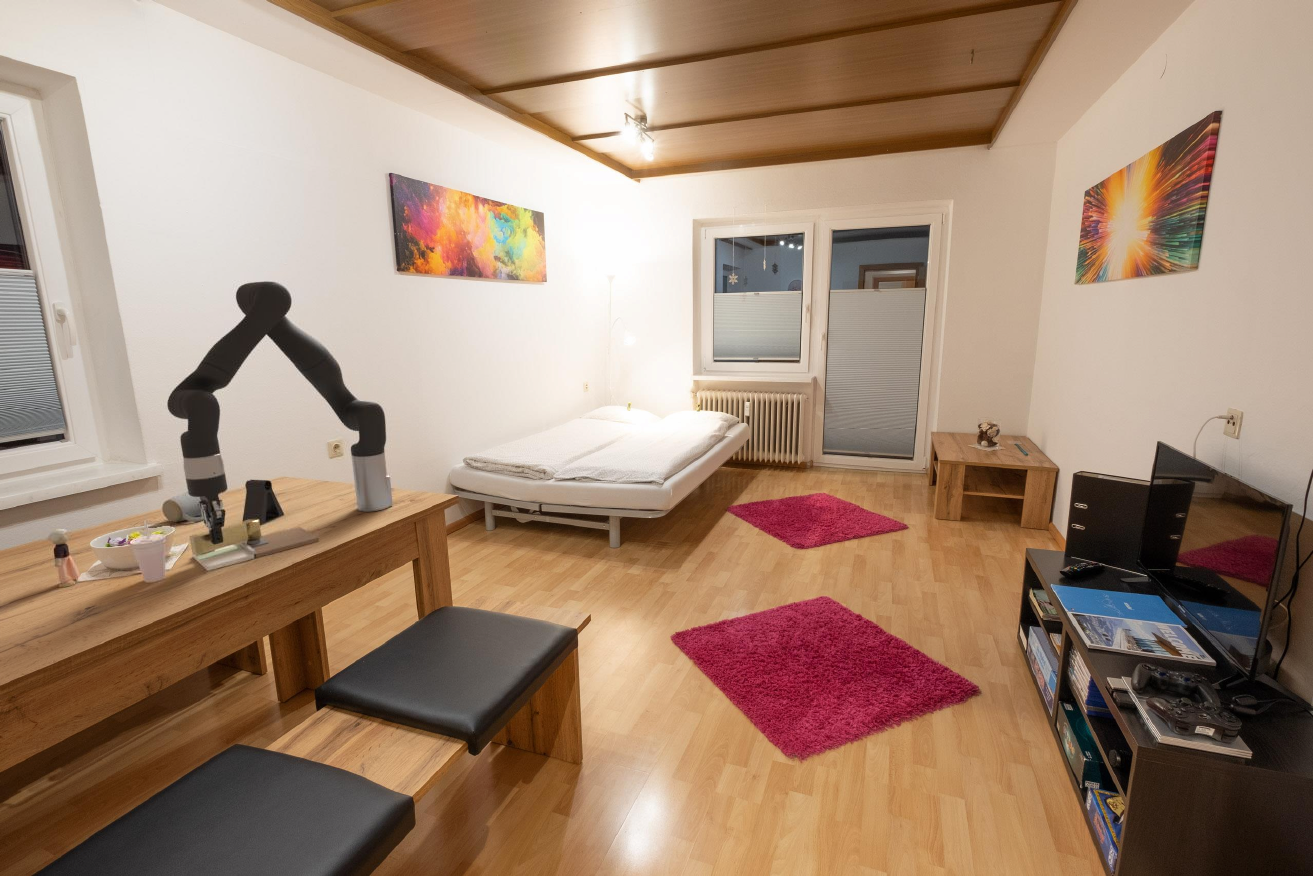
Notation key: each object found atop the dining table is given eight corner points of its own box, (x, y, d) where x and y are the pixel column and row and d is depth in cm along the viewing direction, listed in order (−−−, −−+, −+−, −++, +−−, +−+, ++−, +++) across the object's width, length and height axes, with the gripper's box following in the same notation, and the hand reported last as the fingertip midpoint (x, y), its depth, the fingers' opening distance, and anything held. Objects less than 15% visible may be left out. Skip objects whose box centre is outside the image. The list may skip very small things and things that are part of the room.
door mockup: (300, 530, 168) (298, 517, 167) (318, 541, 160) (317, 527, 159) (192, 556, 150) (190, 542, 149) (207, 570, 142) (205, 555, 141)
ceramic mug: (161, 522, 175) (157, 497, 174) (189, 513, 183) (185, 489, 181) (191, 525, 173) (186, 500, 171) (217, 516, 181) (213, 492, 179)
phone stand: (260, 525, 172) (254, 485, 170) (242, 524, 173) (235, 484, 171) (284, 515, 181) (279, 476, 178) (266, 514, 182) (261, 475, 179)
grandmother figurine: (81, 584, 135) (69, 531, 132) (57, 590, 132) (45, 535, 130) (80, 574, 140) (69, 522, 138) (57, 579, 138) (45, 527, 135)
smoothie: (143, 587, 133) (131, 527, 130) (132, 581, 136) (120, 522, 134) (178, 576, 138) (167, 519, 136) (166, 570, 142) (155, 514, 139)
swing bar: (257, 534, 158) (254, 517, 157) (264, 537, 156) (261, 519, 155) (191, 554, 145) (187, 535, 144) (198, 557, 143) (195, 538, 142)
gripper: (232, 474, 140) (244, 544, 144) (215, 466, 149) (227, 532, 152) (193, 481, 135) (206, 554, 138) (178, 472, 143) (191, 541, 147)
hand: (217, 542), depth 145 cm, fingers closed
